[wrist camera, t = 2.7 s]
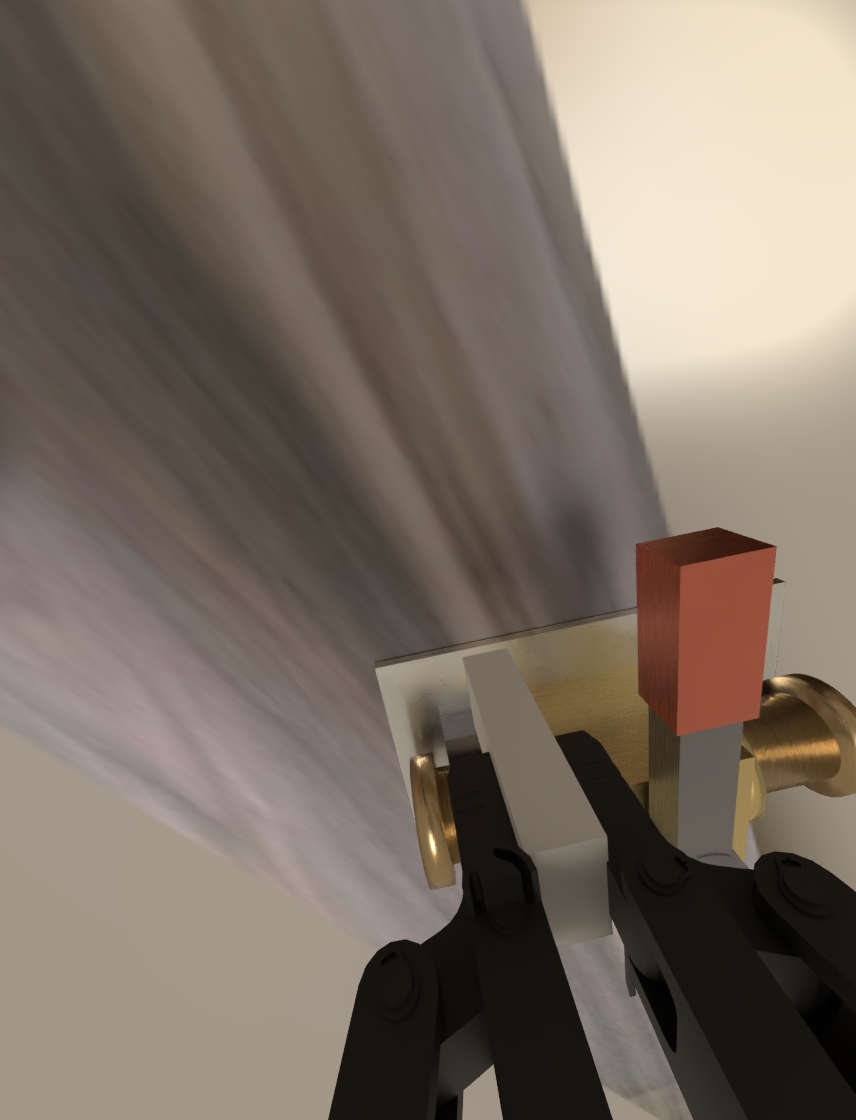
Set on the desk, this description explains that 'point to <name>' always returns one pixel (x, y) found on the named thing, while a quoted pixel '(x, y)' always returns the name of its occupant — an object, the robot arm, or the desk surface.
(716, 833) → the lever
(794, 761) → the valve body
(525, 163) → the desk surface
